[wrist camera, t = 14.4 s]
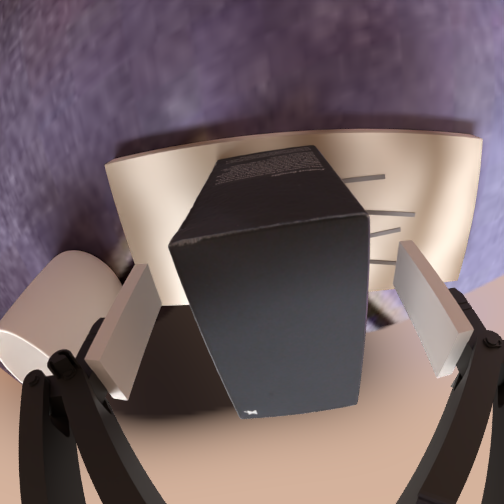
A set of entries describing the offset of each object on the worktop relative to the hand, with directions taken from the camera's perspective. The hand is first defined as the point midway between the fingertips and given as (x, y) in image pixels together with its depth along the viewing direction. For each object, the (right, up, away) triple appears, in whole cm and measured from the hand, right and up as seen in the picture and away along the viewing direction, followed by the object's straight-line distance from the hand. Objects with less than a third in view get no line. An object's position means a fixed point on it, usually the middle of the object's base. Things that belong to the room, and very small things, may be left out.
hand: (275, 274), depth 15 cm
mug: (-16, -3, +11) cm, 20 cm away
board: (+3, +4, +6) cm, 7 cm away
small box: (+1, +3, +5) cm, 5 cm away
